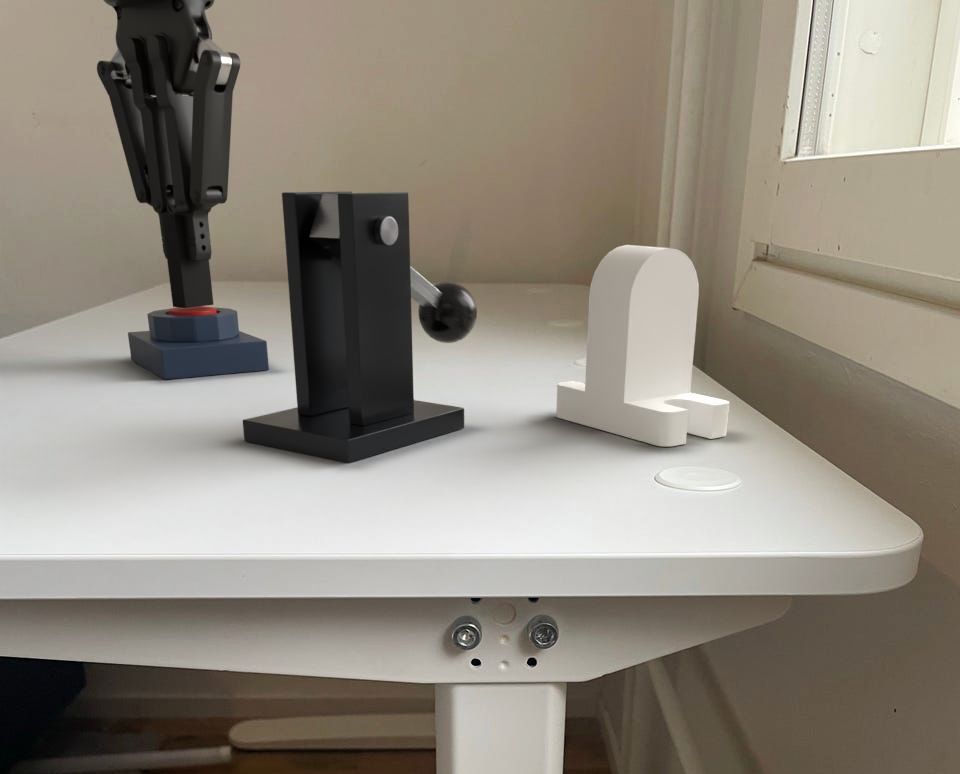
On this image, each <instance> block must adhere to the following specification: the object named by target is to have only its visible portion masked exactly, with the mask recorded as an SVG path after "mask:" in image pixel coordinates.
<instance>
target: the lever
mask: <svg viewBox="0 0 960 774" xmlns="http://www.w3.org/2000/svg"><path fill="white" fill-rule="evenodd" d="M309 237H310V238H312V239H313V240H314V241H316V242H317V243H318V244H319V245H321V246H322V247H323V248H325V249H326V250H327V251H328V252H330V253H331V254H332V255H333V256H335V257H336V258H337V259H339V260H340V261H341V250H340V231H339V212H338V194H323V195H322V198H321V201H320V204H319V207H318V210H317V213H316V216H315V219H314V223H313V226H312V229H311V232H310V235H309ZM410 276H411V299H412V300H414V301H415V302H416V303H418V309H417V310H418V314H417V315H418V320H419V324H420V325H421V328H422V329H423V331H424V332H425V334H427V336H429V337H430V338H431V339H433V340H434V341H436V342H439V343H443V344H453V343H458V342H460V341H462V340H463V339H465V338H466V337H467V336H468V335H470V333H471V332H472V330H473V329H474V327H475V325H476V321H477V318H478V317H477V315H478V309H477V304H476V300H475V298H474V297H473V295H472V293H471V292H470V291H469V290H468V289H467V288H466V287H465V286H463V285H462V284H460V283H457V282H453V281H441V282H438V283H436V284H432V283H431V282H430V281H428V279H426V278H425V277H424V276H423V275H422V274H420V273H419V272H418V271H417V270H416V269H414V268H413V267H412V266H411V265H410Z"/></svg>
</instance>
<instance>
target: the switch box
mask: <svg viewBox="0 0 960 774" xmlns="http://www.w3.org/2000/svg"><path fill="white" fill-rule="evenodd" d="M213 307H214V308H216V310H217V313H216V314H209V315H195V316H177V315H169V314H168V310H169V309H170V308H165V309H164V308H163V309H157V310H153V311H150V312H148V313H147V314H146V315H147V323H148V329H149V330H141V331H140V330H139V331H138V330H137V331H128V332H127V337H128V344H129V352H130V353H129V354H130V360H131V361H133V362H134V363H136V364H138V365H139V366H141V367H143V368H144V369H146V370H148V371H150V372H151V373H153V374H155V375H156V376H158V377H159V378H161V379H163V380H165V381H166V380H177V379H188V378H198V377H209V376H210V377H211V376H220V375H230V374H242V373H253V372H254V373H255V372H263V371H269V370H270V366H269V354H268V342H267V340H265V339H263V338H260V337H257V336H254V335H251V334H249V333H246V332H243V331H241V330H240V328H239V318H238V311H237V310H235V309H232V308H227V307H215V306H213Z"/></svg>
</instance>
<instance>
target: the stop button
mask: <svg viewBox="0 0 960 774" xmlns="http://www.w3.org/2000/svg"><path fill="white" fill-rule="evenodd" d="M214 307H215V306H199V307H191V308H180V307H172V308H168V309H169V310H168V314H169V315H177V316H195V315H209V314H216V313H217V310H216V308H217V307H216V308H214Z"/></svg>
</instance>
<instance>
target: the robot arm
mask: <svg viewBox="0 0 960 774" xmlns="http://www.w3.org/2000/svg"><path fill="white" fill-rule="evenodd" d="M103 2H104V3H105V4H106V5H108V6H110V7H112V8H113V10H114V11H115V13H116V30H115V44H116V47H117V50H116V52H115V53H114V54H113V56H112V58H111V59H110V60H99V61H98V62H97V64H96V72H97V75H98V78H99V80H100V82H101V84H102V86H103V88H104V89H105V91H106V94H107V95H108V97H109V98H108V99H109V101H110V105H111V109H112V113H113V116H114V120H115V123H116V128H117V130H118V134H119V140H120V142H121V146H122V149H123V150H122V151H123V154H124V157H125V161H126V165H127V168H128V172H129V176H130V180H131V183H132V187H133V191H134V194H135V198H136V200H137V202H139V203H140V204H147V205H149V206H150V207H152V209H153V210H154V212H155V213H157V215H158V219H159V228H160V235H161V243H162V252H163V255H164V258H165V260H166V262H167V269H168V270H167V271H168V277H169V278H168V279H169V287H170V295H171V302H172V308H177V307H180V308H191V307H199V306H205V307H208V306H214V304H215V303H214V296H213V295H214V294H213V286H212V285H213V284H212V275H211V269H210V268H211V267H210V260H211V259H212V253H213V252H212V243H211V233H210V225H209V213H210V212H211V211H212V208H214V207H215V206H217V205H222V204H226V202H227V200H228V190H229V173H230V170H229V169H230V153H231V136H232V135H231V133H232V117H233V116H232V115H233V98H234V97H233V95H234V90H235V86H236V83H237V80H238V75H239V72H240V69H241V59H240V56H239V54H238V53H236V52H231V51H224V50H223V49H221V47H219V46H218V45H217V44H216V43H215V42H214V41H213V32H212V28H211V26H210V23H209V21H208V18H207V15H206V11H207V10H209V9H210V8H212V7H213V5H214V3H215V0H103Z"/></svg>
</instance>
